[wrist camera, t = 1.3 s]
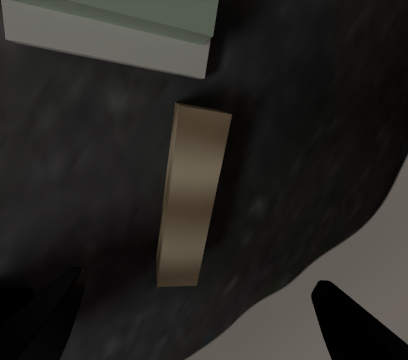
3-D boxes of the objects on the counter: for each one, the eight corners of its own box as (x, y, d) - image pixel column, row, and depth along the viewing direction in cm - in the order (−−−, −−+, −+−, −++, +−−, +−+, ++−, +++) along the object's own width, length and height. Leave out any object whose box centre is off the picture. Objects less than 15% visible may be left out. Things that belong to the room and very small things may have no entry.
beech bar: (189, 255, 24) (196, 285, 20) (156, 255, 23) (157, 286, 20) (216, 109, 19) (232, 114, 15) (175, 102, 18) (181, 105, 15)
